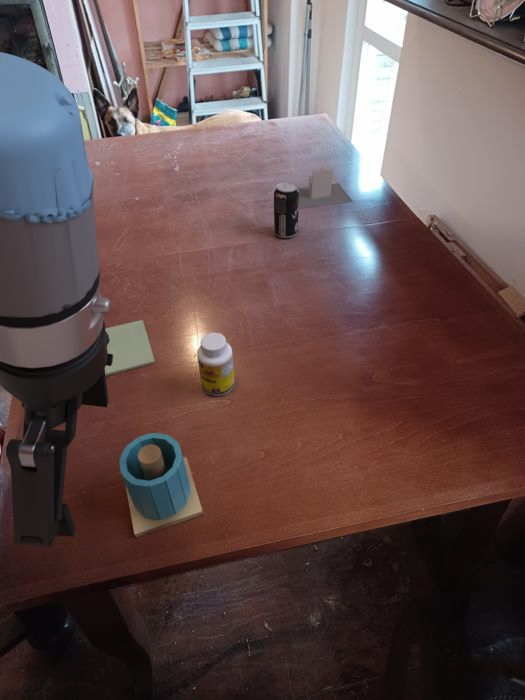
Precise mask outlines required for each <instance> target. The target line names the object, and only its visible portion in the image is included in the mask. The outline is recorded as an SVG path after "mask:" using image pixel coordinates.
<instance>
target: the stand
mask: <svg viewBox="0 0 525 700" xmlns="http://www.w3.org/2000/svg"><path fill="white" fill-rule="evenodd" d="M138 459H139V462H140V465H141V468H142V470H143V473H144V476H145V479H146V480H147V481H150V480H153V479H156V478H159V477H162V476H163V475H165V474H166V473H167V471H166V467H165V464H164V460H163V457H162V453H161V450H160V448H159V447H158V446H156V445H153V444H150V445H146V446H144V447H142V448H141V449H140V451H139V453H138ZM183 459H184V464H185V468H186V472H187V476H188V480H189V485H190V489H191V491H190V495H189V498H188V501H187V503H186V505H185V506H184V507H183V508H182V509H181V510H180V511H179V512H178V513H177V514H175V515H174V516H171V517H168V518H165V519H162V520H161V519H160V520H155V519H149V518H146V517H144V516H143V515H142V514H141V513H139V512H138V511H137V510H136V508H135V506H134V504H133V502H132V499H131V497H130V494H129V492H128V490H127V487H126V486H125V490H126V496H127V501H128V506H129V513H130V517H131V523H132V528H133V529H132V530H133V534H134V537H135V538H140V537H143V536H145V535H148V534H151V533H154V532H158V531H160V530H163V529H165V528H168V527H172V526H174V525H177V524H180V523H183V522H186V521H188V520H192V519H194V518H195V519H196V518H198V517H200V516H203V515H204V512H203V507H202V505H201V500H200V498H199V495H198V492H197V487H196V484H195V481H194V477H193V474H192V471H191V467H190V464H189V460H188V457H187V456H185V457H184V456H183Z"/></svg>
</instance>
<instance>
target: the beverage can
mask: <svg viewBox="0 0 525 700" xmlns="http://www.w3.org/2000/svg"><path fill="white" fill-rule="evenodd" d="M297 188H298V186H297V184H295V183H294V182H290V181H284V182H280V183H278V184H277V185H276V189H275V190H274V192H273V233H274V234H275V235H276V236H277V237H279V238H281V239H290V238H292V237H295V236H296V235H297V234H298V231H299V211H300V209H299V191H298V190H297Z"/></svg>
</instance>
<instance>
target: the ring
mask: <svg viewBox="0 0 525 700" xmlns="http://www.w3.org/2000/svg"><path fill="white" fill-rule="evenodd" d="M150 444H153V445H156V446H158V447H159V448H160V450H161V453H162V457H163V460H164V464H165V467H166V471H167V473H166V474H165V475H163V476H162V477H159V478H156V479H153V480H150V481H147V480H146V479H145V476H144V473H143V470H142V468H141V465H140V462H139V459H138V453H139V451H140V449H141V448H142V447H144V446H146V445H150ZM183 455H184V454H183V452H182V449H181V444H180V443H179V442H178V441H177V440H176V439H174V438H173V437H172V436H171V435H169V434H167V433H159V432H150V433H147V434H144V435H140V436H137V437H136V438H134V439H133V440H132V441H131V442H129V443H128V444H127V445H126V446H125V447H124V449H123V451H122V453H121V456H120V457H119V460H118V465H119V470H120V475H121V477H122V480H123V482H124V486H125V488H126V487H127V490H128V492H129V494H130V497H131V499H132V502H133V504H134V506H135V508H136V510H137V511H138V512H139V513H141V514H142V515H143V516H144V517H146V518H149V519H155V520H160V519H161V520H162V519H165V518H168V517H171V516H174V515H175V514H177V513H178V512H179V511H180V510H181V509H182V508H183V507H184V506H185V505H186V503H187V501H188V498H189V495H190V491H191V489H190V485H189V480H188V476H187V472H186V468H185V464H184V459H183V458H184V456H183Z"/></svg>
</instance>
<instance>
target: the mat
mask: <svg viewBox="0 0 525 700" xmlns="http://www.w3.org/2000/svg"><path fill="white" fill-rule="evenodd" d="M105 330H106V332H107V334H108V335H109V339H110V341H109V344H108V345H107V351H108V354H113V362H112V365H111V366H105V375H106V377H107V376H111V375H115V374H119V373H123V372H127V371H130V370H134V369H137V368H142V367H146V366H150V365H154V364H156V360H155V357H154V353H153V349H152V347H151V343H150V339H149V337H148V333H147V329H146V326H145V323H144V319H140V320H135V321H131V322H127V323H123V324H119V325H115V326H111V327H105Z"/></svg>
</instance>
